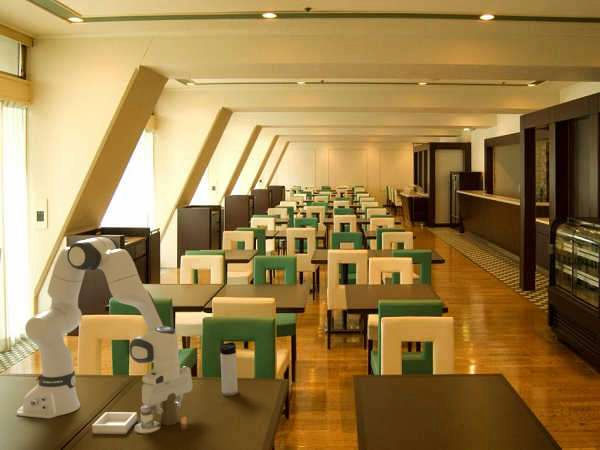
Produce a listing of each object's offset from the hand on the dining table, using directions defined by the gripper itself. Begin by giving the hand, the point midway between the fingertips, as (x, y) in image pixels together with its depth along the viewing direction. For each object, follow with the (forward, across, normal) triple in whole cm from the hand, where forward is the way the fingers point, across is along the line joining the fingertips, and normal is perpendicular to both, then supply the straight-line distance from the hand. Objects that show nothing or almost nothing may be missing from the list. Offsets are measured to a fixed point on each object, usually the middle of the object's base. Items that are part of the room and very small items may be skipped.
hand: (169, 410), depth 227 cm
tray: (+4, +14, -12) cm, 19 cm away
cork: (+4, 0, 0) cm, 4 cm away
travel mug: (+4, -33, -3) cm, 33 cm away
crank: (-2, +4, -4) cm, 6 cm away
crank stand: (+4, +6, +2) cm, 7 cm away
